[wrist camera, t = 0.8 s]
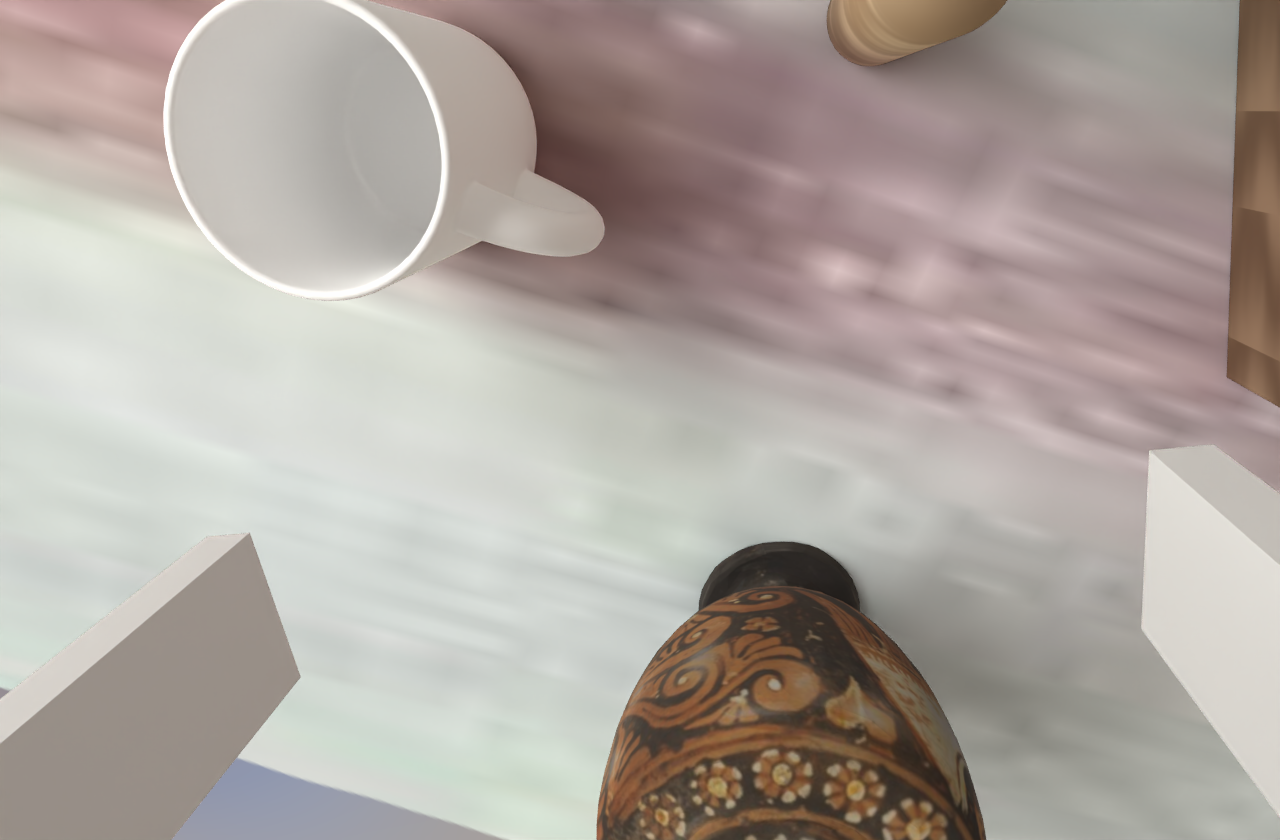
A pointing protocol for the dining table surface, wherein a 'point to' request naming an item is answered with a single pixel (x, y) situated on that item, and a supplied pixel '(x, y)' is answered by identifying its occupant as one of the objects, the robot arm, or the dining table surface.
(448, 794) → the dining table surface
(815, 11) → the dining table surface
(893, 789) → the vase
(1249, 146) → the hole block
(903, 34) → the oak peg
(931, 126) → the dining table surface
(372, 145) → the mug
